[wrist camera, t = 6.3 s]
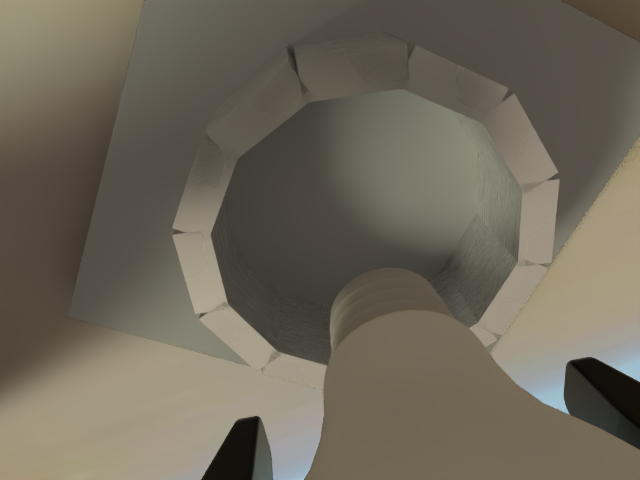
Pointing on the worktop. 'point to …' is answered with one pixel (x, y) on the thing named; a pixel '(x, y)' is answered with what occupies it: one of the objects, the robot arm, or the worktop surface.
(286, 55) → the socket collar
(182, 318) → the socket plate
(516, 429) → the lightbulb
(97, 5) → the worktop surface
